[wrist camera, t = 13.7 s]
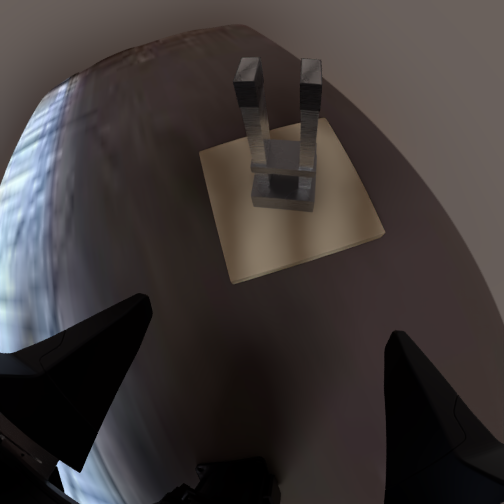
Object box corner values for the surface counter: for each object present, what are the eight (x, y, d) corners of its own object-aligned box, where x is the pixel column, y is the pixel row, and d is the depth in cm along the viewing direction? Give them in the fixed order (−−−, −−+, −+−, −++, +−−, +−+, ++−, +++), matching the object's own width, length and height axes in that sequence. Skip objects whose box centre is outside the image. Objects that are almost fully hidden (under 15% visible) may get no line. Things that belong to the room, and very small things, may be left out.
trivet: (233, 284, 24) (230, 281, 22) (201, 158, 28) (198, 152, 27) (381, 237, 23) (385, 232, 22) (324, 124, 27) (325, 117, 26)
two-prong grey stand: (253, 206, 24) (221, 95, 12) (260, 162, 25) (239, 48, 13) (312, 212, 23) (330, 99, 11) (315, 167, 24) (326, 51, 12)
